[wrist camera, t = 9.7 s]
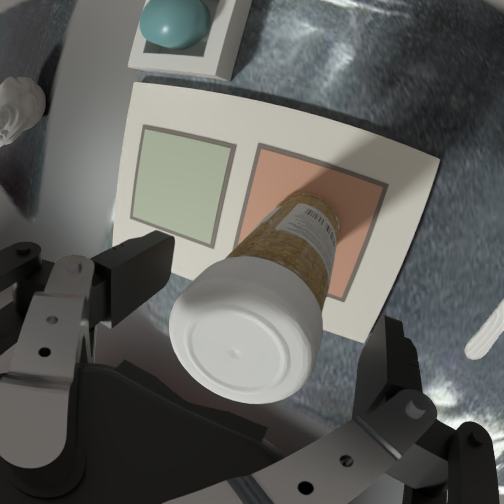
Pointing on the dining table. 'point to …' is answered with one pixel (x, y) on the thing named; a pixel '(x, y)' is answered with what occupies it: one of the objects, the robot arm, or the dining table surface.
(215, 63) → the button housing
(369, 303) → the picture board
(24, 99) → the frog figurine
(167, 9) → the button
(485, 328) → the spoon
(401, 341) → the robot arm
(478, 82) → the dining table surface
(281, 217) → the sprinkles bottle
